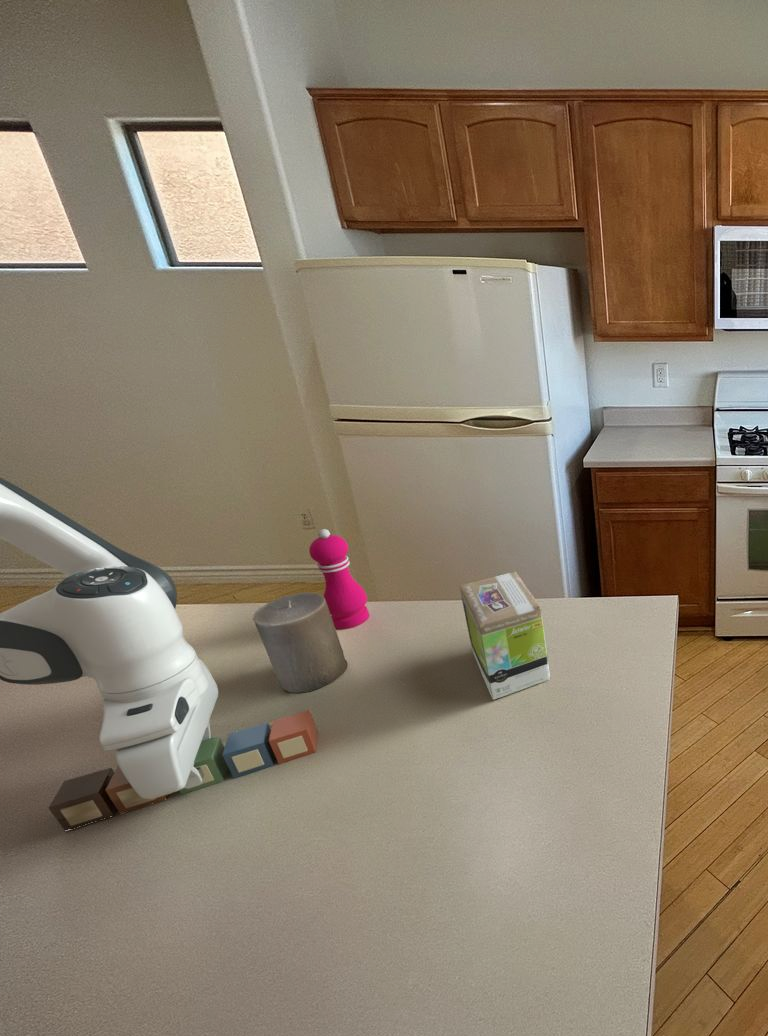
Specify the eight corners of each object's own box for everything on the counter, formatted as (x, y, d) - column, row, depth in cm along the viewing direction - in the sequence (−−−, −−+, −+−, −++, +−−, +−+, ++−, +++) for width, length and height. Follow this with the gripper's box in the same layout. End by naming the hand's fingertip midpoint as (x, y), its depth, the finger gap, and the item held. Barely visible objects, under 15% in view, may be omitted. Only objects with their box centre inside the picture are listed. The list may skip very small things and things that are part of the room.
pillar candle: (353, 652, 101) (330, 581, 94) (338, 687, 92) (312, 612, 86) (291, 662, 98) (263, 590, 92) (270, 699, 89) (237, 622, 83)
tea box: (552, 679, 95) (542, 606, 88) (492, 702, 89) (476, 627, 83) (526, 635, 106) (515, 568, 100) (471, 653, 101) (456, 584, 95)
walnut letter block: (64, 833, 68) (47, 808, 66) (80, 805, 72) (64, 780, 70) (113, 817, 70) (97, 793, 68) (126, 790, 74) (111, 767, 72)
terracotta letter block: (278, 764, 78) (268, 741, 76) (282, 742, 81) (272, 720, 80) (315, 752, 80) (306, 730, 78) (318, 732, 83) (309, 709, 82)
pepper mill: (333, 614, 112) (304, 524, 103) (374, 607, 114) (348, 519, 106) (326, 634, 106) (294, 540, 97) (369, 625, 108) (342, 534, 100)
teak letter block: (120, 815, 70) (104, 791, 68) (132, 789, 74) (117, 765, 72) (165, 801, 72) (151, 777, 70) (175, 775, 76) (162, 752, 74)
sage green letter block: (181, 795, 73) (167, 771, 71) (190, 770, 77) (177, 747, 75) (223, 782, 75) (211, 758, 73) (230, 758, 79) (219, 735, 77)
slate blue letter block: (233, 779, 75) (221, 755, 74) (239, 756, 79) (228, 733, 77) (273, 766, 77) (262, 743, 76) (277, 744, 81) (267, 721, 79)
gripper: (151, 650, 76) (190, 725, 82) (92, 752, 60) (145, 837, 66) (210, 636, 79) (244, 710, 85) (168, 731, 63) (213, 814, 69)
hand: (200, 767), depth 75 cm, fingers closed on sage green letter block, 4 cm apart
